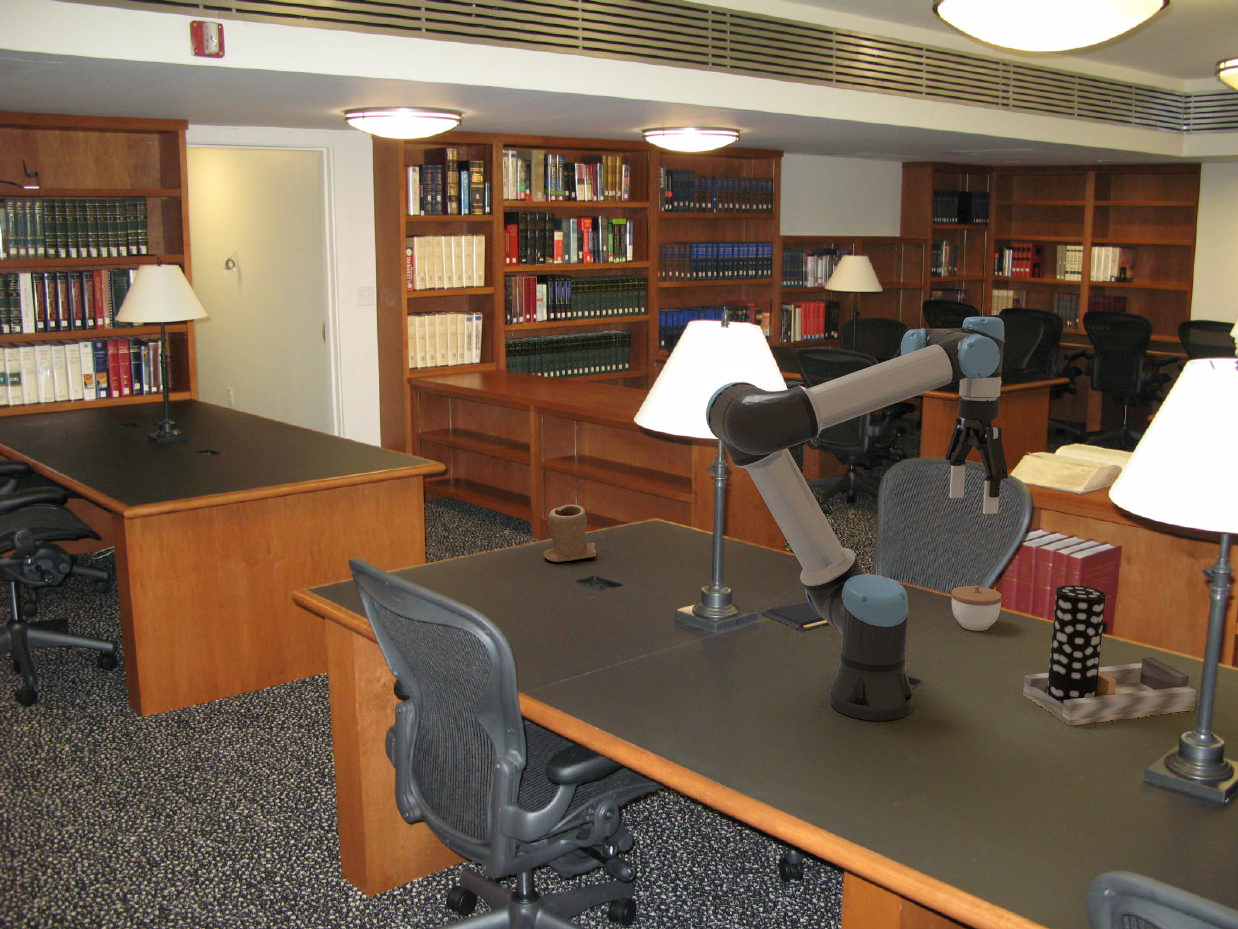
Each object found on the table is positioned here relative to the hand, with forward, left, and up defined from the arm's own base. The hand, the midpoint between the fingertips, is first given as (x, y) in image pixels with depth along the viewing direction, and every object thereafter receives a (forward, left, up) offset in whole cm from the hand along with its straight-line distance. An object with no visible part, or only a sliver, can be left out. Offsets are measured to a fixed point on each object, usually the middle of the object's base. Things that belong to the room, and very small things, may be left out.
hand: (972, 505), depth 217 cm
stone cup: (-61, +97, -34) cm, 119 cm away
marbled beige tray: (+17, -22, -34) cm, 44 cm away
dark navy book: (-16, +38, -35) cm, 54 cm away
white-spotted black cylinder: (+9, -22, -32) cm, 40 cm away
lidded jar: (+16, +22, -34) cm, 43 cm away
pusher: (+14, -22, -32) cm, 42 cm away
